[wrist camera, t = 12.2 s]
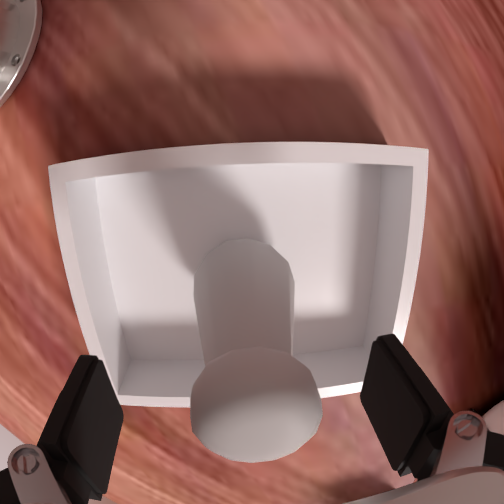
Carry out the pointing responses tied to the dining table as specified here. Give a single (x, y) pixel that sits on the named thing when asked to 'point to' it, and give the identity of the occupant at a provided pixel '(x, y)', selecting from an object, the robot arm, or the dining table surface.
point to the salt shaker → (250, 357)
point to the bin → (233, 228)
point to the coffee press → (494, 418)
